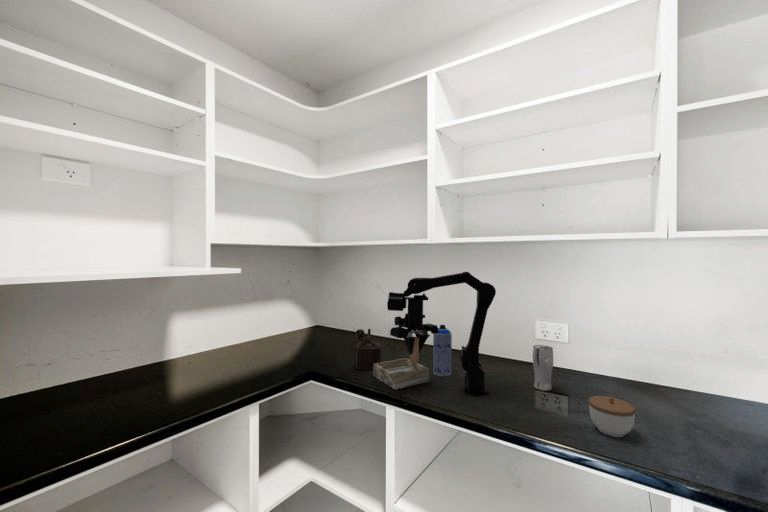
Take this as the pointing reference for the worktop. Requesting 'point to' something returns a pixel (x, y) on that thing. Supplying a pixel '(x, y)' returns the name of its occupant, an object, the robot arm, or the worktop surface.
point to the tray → (400, 373)
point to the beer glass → (543, 366)
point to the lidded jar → (612, 415)
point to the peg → (415, 351)
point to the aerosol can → (442, 352)
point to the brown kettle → (366, 351)
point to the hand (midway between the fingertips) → (414, 353)
